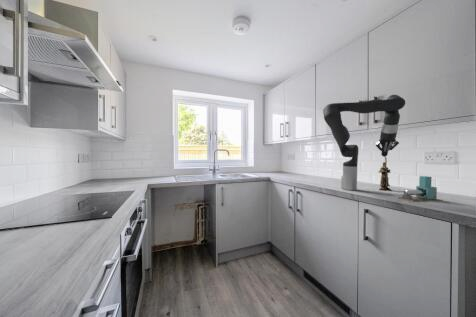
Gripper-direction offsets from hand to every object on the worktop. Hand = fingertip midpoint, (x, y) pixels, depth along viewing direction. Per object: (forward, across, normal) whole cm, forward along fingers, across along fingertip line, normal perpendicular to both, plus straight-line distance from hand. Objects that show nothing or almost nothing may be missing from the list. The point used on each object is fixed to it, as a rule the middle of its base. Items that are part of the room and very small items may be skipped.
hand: (384, 155), depth 121 cm
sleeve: (+20, +15, -18) cm, 31 cm away
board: (+20, +12, -20) cm, 30 cm away
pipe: (+20, +12, -20) cm, 30 cm away
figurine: (+35, +10, +8) cm, 38 cm away
